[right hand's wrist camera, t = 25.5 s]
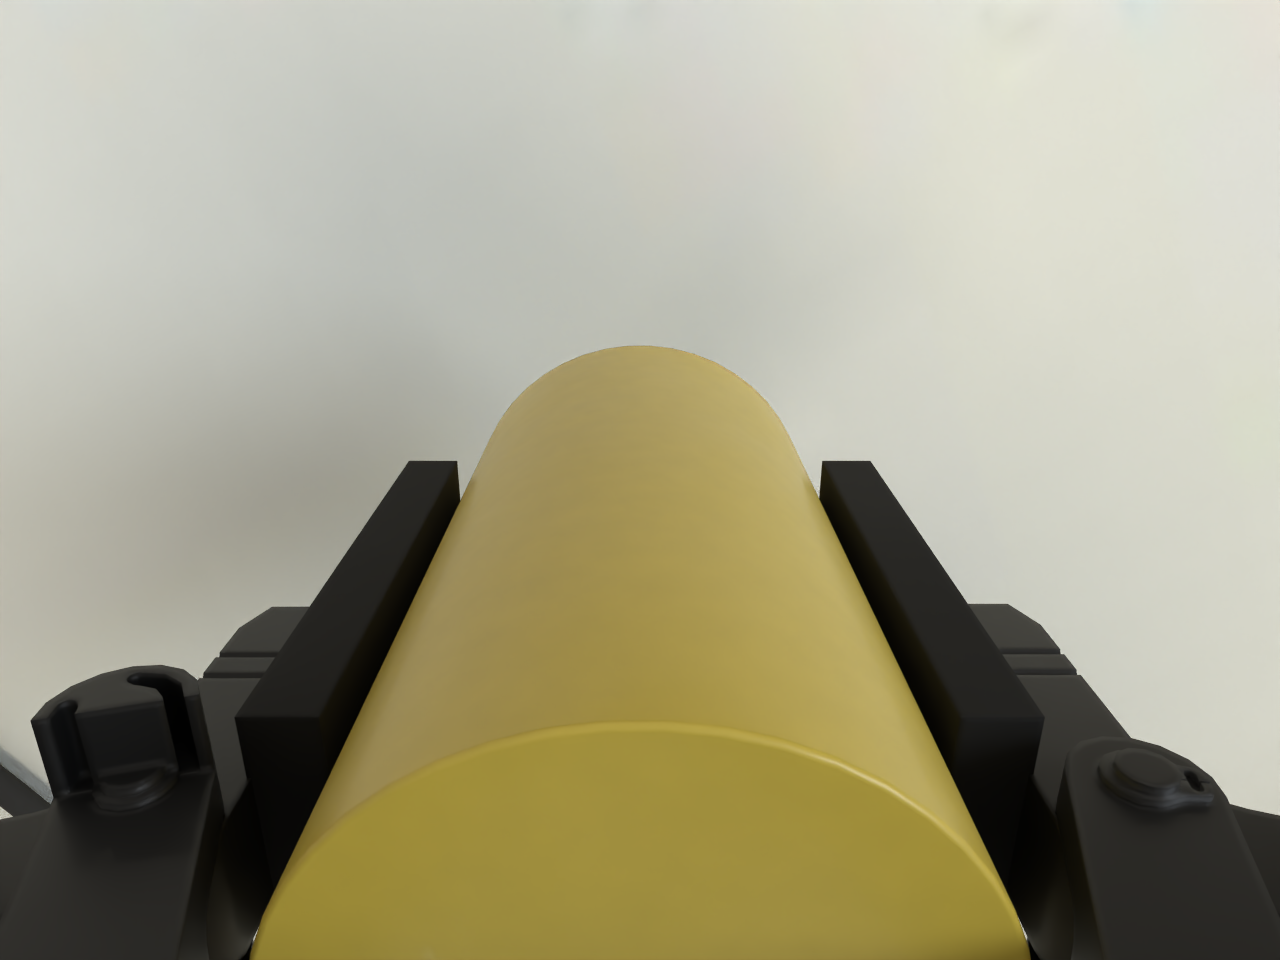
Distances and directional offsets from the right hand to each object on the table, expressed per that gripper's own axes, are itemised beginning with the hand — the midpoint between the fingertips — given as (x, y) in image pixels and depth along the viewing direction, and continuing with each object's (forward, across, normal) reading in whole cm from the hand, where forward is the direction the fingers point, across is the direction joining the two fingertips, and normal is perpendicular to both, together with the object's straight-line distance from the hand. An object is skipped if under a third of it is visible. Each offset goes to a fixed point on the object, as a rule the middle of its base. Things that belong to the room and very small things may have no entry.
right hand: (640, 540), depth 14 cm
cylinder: (+2, 0, 0) cm, 2 cm away
